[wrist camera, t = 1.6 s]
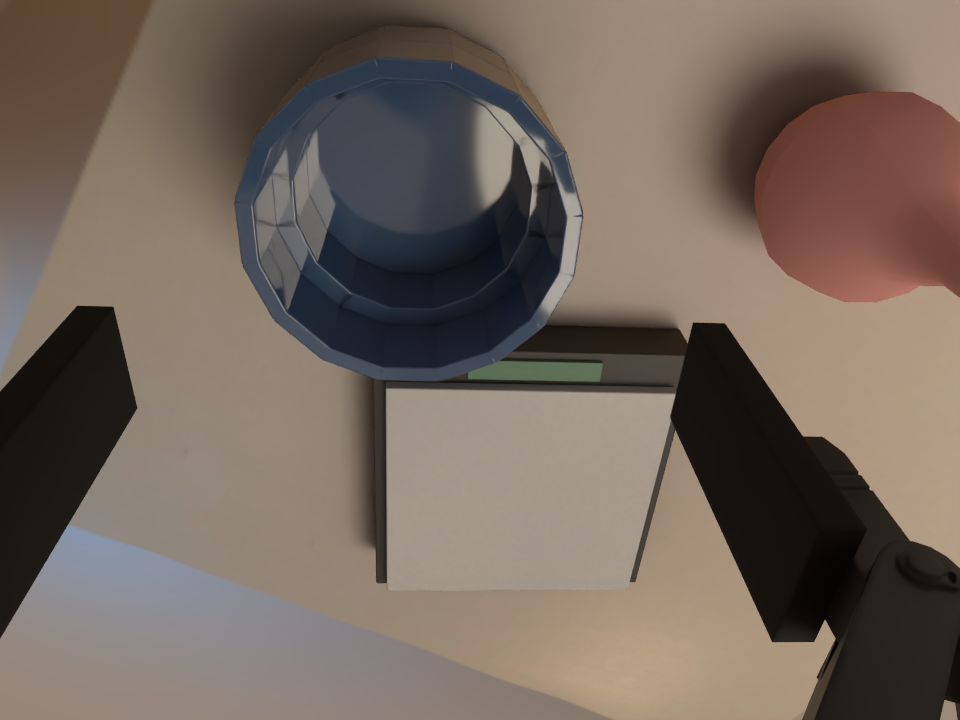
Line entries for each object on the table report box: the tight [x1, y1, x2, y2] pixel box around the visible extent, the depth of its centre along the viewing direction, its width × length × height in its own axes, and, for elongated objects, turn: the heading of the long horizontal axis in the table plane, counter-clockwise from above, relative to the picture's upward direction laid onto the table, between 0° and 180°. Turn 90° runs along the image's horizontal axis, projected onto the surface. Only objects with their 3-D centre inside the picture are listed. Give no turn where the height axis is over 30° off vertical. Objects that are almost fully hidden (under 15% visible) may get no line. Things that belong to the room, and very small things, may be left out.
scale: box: [373, 326, 688, 591], centre depth 37 cm, size 15×14×3 cm
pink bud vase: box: [754, 92, 960, 302], centre depth 26 cm, size 8×8×12 cm
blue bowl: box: [234, 25, 583, 381], centre depth 27 cm, size 11×11×7 cm
